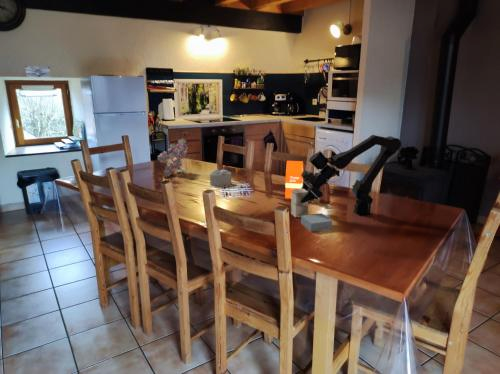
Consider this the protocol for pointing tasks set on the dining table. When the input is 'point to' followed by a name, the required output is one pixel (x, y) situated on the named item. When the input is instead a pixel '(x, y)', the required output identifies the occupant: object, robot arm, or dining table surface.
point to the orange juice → (293, 177)
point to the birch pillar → (298, 203)
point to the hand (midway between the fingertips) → (299, 199)
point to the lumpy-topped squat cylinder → (220, 178)
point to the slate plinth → (316, 222)
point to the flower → (177, 152)
